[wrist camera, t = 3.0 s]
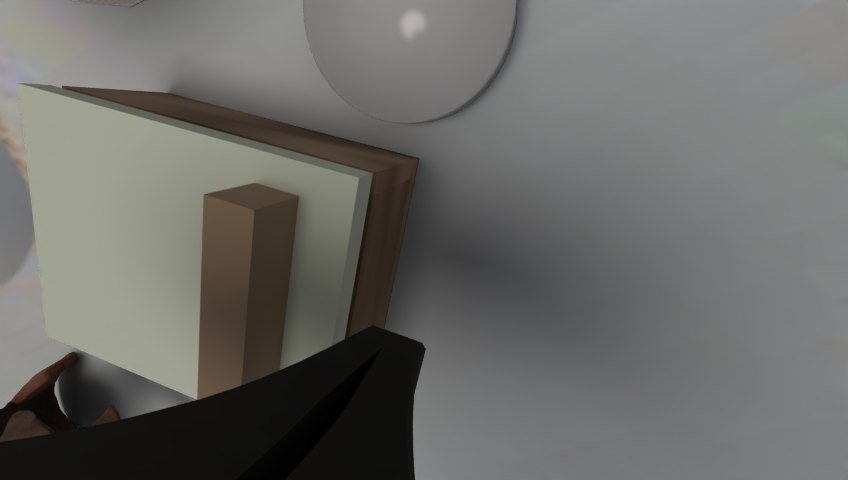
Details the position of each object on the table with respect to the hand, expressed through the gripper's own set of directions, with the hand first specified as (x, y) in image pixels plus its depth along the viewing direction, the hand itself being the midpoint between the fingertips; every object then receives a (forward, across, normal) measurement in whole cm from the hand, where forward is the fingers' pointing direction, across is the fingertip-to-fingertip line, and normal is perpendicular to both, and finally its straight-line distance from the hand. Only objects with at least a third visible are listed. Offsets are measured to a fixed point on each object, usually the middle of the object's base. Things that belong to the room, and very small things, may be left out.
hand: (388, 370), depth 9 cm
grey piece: (+5, +3, -8) cm, 10 cm away
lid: (+1, +7, 0) cm, 7 cm away
